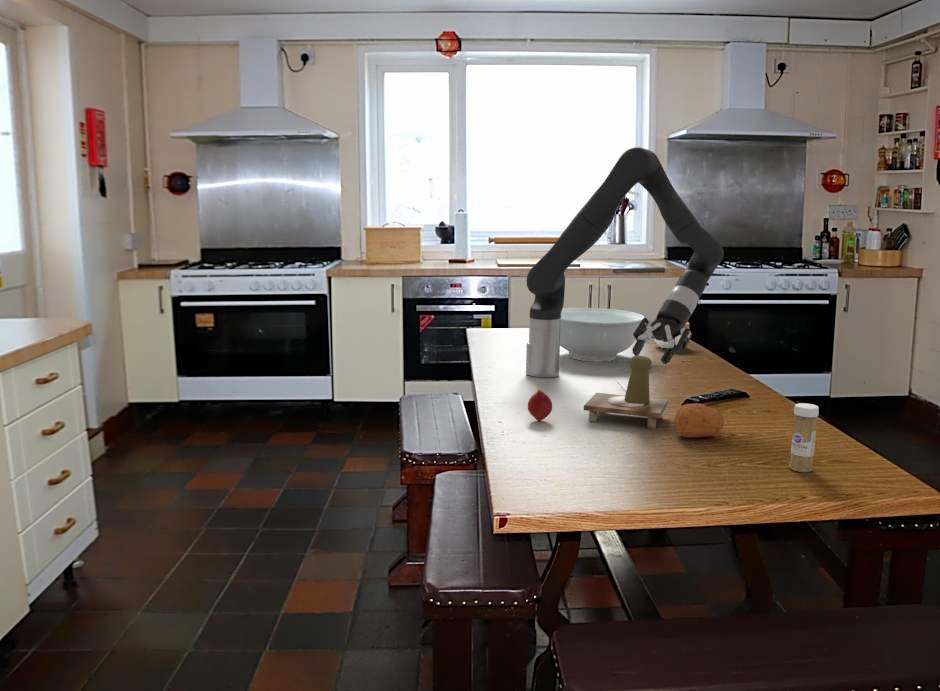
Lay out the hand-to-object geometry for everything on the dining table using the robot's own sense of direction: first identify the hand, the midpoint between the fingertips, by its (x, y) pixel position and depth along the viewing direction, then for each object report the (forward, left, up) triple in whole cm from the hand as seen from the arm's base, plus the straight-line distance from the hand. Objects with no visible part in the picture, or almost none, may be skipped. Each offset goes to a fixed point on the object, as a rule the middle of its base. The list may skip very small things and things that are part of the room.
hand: (648, 358), depth 219 cm
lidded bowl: (-6, +90, -13) cm, 91 cm away
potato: (+15, -19, -13) cm, 28 cm away
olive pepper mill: (-1, -11, -9) cm, 14 cm away
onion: (-22, -21, -13) cm, 34 cm away
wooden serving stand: (-3, -11, -13) cm, 18 cm away
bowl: (-27, +61, -13) cm, 68 cm away
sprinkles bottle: (+37, -35, -13) cm, 53 cm away
